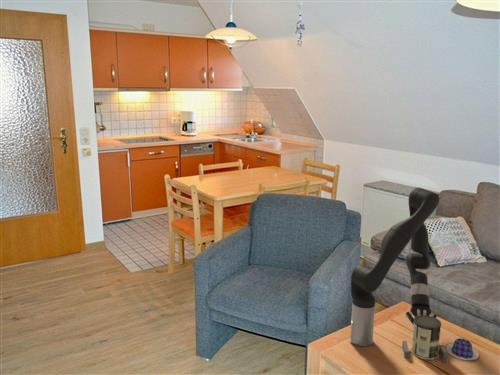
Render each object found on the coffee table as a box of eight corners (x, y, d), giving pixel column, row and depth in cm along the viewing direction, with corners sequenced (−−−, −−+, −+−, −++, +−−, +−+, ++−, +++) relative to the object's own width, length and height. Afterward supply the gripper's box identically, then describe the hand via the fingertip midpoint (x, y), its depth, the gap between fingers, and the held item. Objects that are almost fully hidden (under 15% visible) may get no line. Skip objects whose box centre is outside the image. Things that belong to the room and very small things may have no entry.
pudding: (478, 349, 183) (480, 338, 182) (478, 365, 173) (479, 352, 172) (447, 342, 189) (448, 331, 188) (444, 356, 178) (446, 344, 177)
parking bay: (404, 358, 177) (405, 351, 176) (402, 347, 184) (402, 340, 184) (447, 363, 173) (448, 356, 173) (443, 351, 181) (443, 345, 181)
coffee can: (434, 346, 185) (437, 315, 182) (441, 361, 175) (444, 328, 172) (408, 344, 186) (411, 313, 183) (414, 358, 176) (416, 326, 173)
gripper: (405, 291, 192) (406, 332, 183) (437, 294, 190) (440, 335, 181) (402, 297, 198) (404, 336, 189) (434, 300, 196) (437, 340, 187)
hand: (422, 336), depth 185 cm, fingers closed
